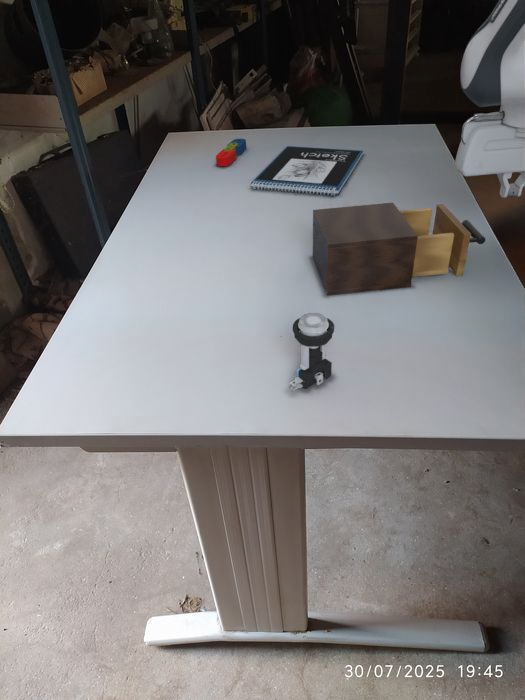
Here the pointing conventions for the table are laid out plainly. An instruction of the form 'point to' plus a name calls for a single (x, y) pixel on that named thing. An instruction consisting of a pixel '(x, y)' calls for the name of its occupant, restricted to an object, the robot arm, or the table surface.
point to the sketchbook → (309, 170)
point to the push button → (312, 349)
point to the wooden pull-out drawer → (440, 241)
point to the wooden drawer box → (363, 248)
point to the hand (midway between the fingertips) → (509, 195)
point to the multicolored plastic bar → (230, 152)
